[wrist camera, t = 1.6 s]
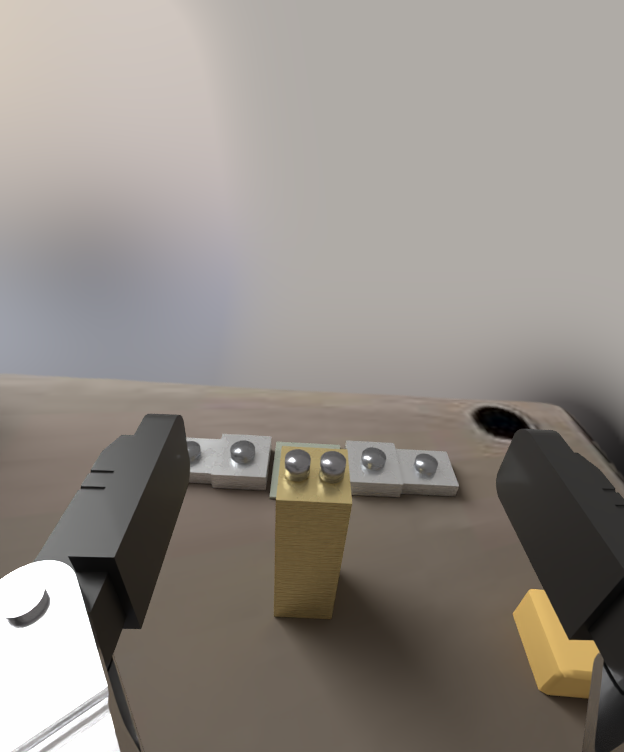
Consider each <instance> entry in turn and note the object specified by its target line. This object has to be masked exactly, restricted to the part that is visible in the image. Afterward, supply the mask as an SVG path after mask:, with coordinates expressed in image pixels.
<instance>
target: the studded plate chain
mask: <svg viewBox="0 0 624 752" xmlns="http://www.w3.org/2000/svg"><path fill="white" fill-rule="evenodd" d="M186 440H187V446H188V452H189V458H190V477H189V483H205V484H212V488H228V489H247V490H266V484H267V477H268V470H269V463H270V455H271V437H270V436H252V435H234V434H223V435H222V438H221V439H203V438H186ZM282 446H293V447H311V448H330V449H340V445H328V444H310V443H292V442H276V449H275V457H274V465H273V473H272V481H271V489H270V499H276V494H277V485H278V476H279V467H280V457H281V448H282ZM345 449H348V461H349V472H350V484H351V495H363V496H383V497H400V494H418V495H437V496H455V495H456V493H457V490H458V488H459V485H458V482H457V479H456V477H455V474H454V471H453V468H452V466H451V463H450V460H449V458H448V455H447V452H442V451H424V450H405V449H395V446H394V443H380V442H362V441H346V444H345Z"/></svg>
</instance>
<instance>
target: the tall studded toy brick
mask: <svg viewBox="0 0 624 752" xmlns="http://www.w3.org/2000/svg"><path fill="white" fill-rule="evenodd" d="M351 507H352V496H351V484H350V472H349V461H348V449H330V448H311V447H293V446H282V448H281V457H280V467H279V476H278V485H277V494H276V524H275V586H274V617H295V618H317V619H331V618H332V612H333V607H334V601H335V596H336V590H337V585H338V579H339V574H340V568H341V563H342V557H343V551H344V546H345V540H346V535H347V529H348V524H349V518H350V513H351Z"/></svg>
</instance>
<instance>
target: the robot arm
mask: <svg viewBox="0 0 624 752" xmlns="http://www.w3.org/2000/svg"><path fill="white" fill-rule="evenodd" d="M189 477H190V458H189V452H188V446H187V440H186V433H185V427H184V421H183V418H182V416H181V415H169V414H147V415H146V416H145V417H144V418H143V420H142V422H141V424H140V425H139V427H138V429H137V431H136V433H135V435H121V436H120V437H119V438H117V439H116V440H115V441H114V442H113V443H111V444H110V445H109V446H108V447H107V448H105V449H104V450H103V451H102V452H101V454H100V456H99V457H98V459H97V460H96V462H95V464H94V465H93V467H92V469H91V473H90V474H88V475H87V477H86V478H85V480H84V482H83V483H82V485H81V489H80V490H78V491H77V493H76V495H75V496H74V498H73V499H72V501H71V503H70V504H69V506H68V508H67V509H66V511H65V512H64V514H63V516H62V517H61V519H60V521H59V522H58V524H57V525H56V527H55V529H54V530H53V532H52V533H51V535H50V537H49V538H48V540H47V542H46V543H45V545H44V546H43V548H42V550H41V551H40V553H39V554H38V556H37V557H36V559H35V560H34V561H33V562H32V564H28V565H26V566H23V567H21V568H19V569H17V570H15V571H13V572H11V573H10V574H8V575H7V576H5V577H4V578H2V579H1V580H0V752H144V749H143V746H142V742H141V739H140V736H139V733H138V730H137V727H136V723H135V720H134V717H133V714H132V711H131V707H130V704H129V701H128V698H127V695H126V691H125V688H124V685H123V682H122V679H121V676H120V672H119V669H118V666H117V663H116V660H115V656H114V654H113V653H114V650H115V647H116V645H117V642H118V639H119V636H120V634H121V631H122V629H141V628H142V625H143V622H144V618H145V615H146V612H147V609H148V606H149V603H150V600H151V597H152V594H153V591H154V588H155V585H156V582H157V579H158V576H159V573H160V570H161V567H162V564H163V561H164V557H165V554H166V551H167V548H168V545H169V542H170V539H171V536H172V533H173V530H174V527H175V524H176V521H177V518H178V515H179V512H180V509H181V506H182V503H183V500H184V497H185V493H186V490H187V487H188V483H189ZM496 488H497V493H498V497H499V499H500V501H501V503H502V505H503V507H504V509H505V511H506V513H507V516H508V518H509V520H510V522H511V524H512V526H513V528H514V530H515V532H516V534H517V536H518V538H519V540H520V542H521V544H522V546H523V548H524V550H525V552H526V554H527V556H528V558H529V560H530V562H531V564H532V566H533V568H534V570H535V572H536V574H537V576H538V578H539V580H540V582H541V584H542V586H543V589H544V591H545V593H546V595H547V597H548V599H549V601H550V603H551V605H552V607H553V609H554V611H555V613H556V615H557V617H558V619H559V621H560V623H561V625H562V627H563V629H564V631H565V633H566V635H567V637H568V639H569V640H594V642H595V644H596V646H597V648H598V650H599V653H598V654H597V655H596V657H595V659H594V662H593V669H592V677H591V684H590V692H589V700H588V708H587V716H586V723H585V731H584V739H583V747H582V752H624V499H623V498H622V496H621V495H620V494H619V493H616V492H615V488H614V486H613V485H612V484H611V483H610V482H609V480H608V479H607V478H606V477H605V475H604V474H603V473H602V472H601V471H600V469H598V468H597V467H596V466H594V465H593V464H592V463H590V462H589V461H588V460H586V459H585V458H584V457H583V456H581V455H580V454H579V453H574V452H573V451H572V450H571V448H570V447H569V446H568V444H567V443H566V442H565V441H564V439H563V438H562V437H561V435H560V434H559V433H557V432H556V431H553V430H534V429H520V430H518V431H517V432H516V433H515V435H514V437H513V439H512V441H511V444H510V446H509V448H508V450H507V453H506V455H505V457H504V460H503V462H502V464H501V466H500V469H499V471H498V474H497V478H496Z"/></svg>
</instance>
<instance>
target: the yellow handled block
mask: <svg viewBox="0 0 624 752" xmlns="http://www.w3.org/2000/svg"><path fill="white" fill-rule="evenodd" d="M513 616H514V619H515V622H516V625H517V628H518V631H519V634H520V637H521V639H522V642H523V645H524V648H525V651H526V654H527V657H528V660H529V663H530V666H531V669H532V671H533V674H534V677H535V680H536V683H537V686H538V689H539V690H540V691H542V692H543V693H545V694H547V695H555V696H566V697H577V698H588V699H589V692H590V684H591V677H592V669H593V662H594V659H595V657H596V655H597V654H598V653H599V650H598V648H597V646H596V644H595V642H594V640H569V639H568V637H567V635H566V633H565V631H564V629H563V627H562V625H561V623H560V621H559V619H558V617H557V615H556V613H555V611H554V609H553V607H552V605H551V603H550V601H549V599H548V597H547V595H546V593H545V591H544V590H537V589H530V590H529V591H528V592H527V594H526V595H525V597H524V598H523V600H522V601H521V603H520V604H519V606H518V607H517V608H516V610H515V611H514V613H513Z"/></svg>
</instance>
